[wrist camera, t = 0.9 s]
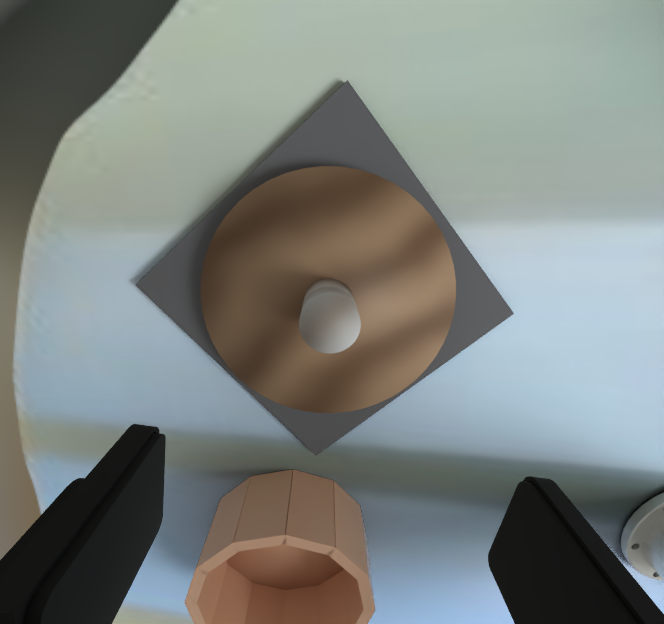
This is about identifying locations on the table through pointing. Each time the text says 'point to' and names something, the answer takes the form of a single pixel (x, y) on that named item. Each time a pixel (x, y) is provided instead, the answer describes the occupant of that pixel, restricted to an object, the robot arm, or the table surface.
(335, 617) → the bowl
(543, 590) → the robot arm
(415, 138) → the table surface
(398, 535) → the table surface
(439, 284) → the lid
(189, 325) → the mat
